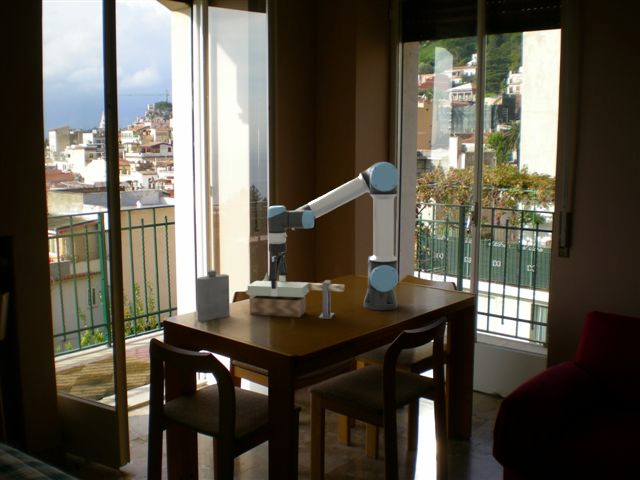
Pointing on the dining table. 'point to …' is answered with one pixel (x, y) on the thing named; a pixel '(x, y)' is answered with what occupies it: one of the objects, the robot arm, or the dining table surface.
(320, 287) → the light wooden bar
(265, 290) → the lid
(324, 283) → the grey post stand
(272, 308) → the brown open box
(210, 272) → the flask
